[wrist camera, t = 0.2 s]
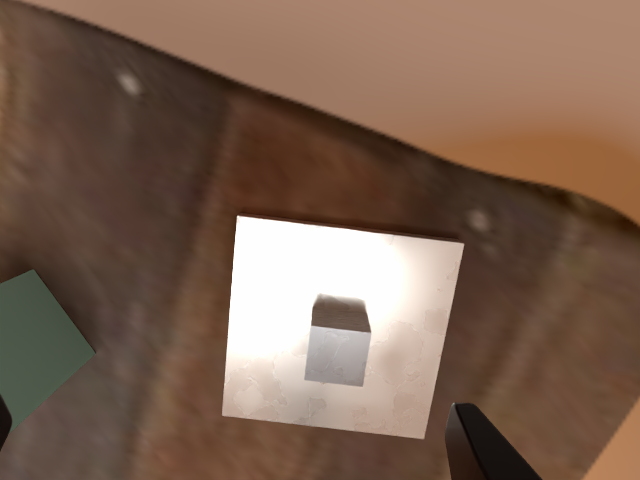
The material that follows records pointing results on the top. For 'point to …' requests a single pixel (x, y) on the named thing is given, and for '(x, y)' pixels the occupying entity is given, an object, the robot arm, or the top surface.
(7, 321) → the tall mint green block
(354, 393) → the plate
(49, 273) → the top surface
